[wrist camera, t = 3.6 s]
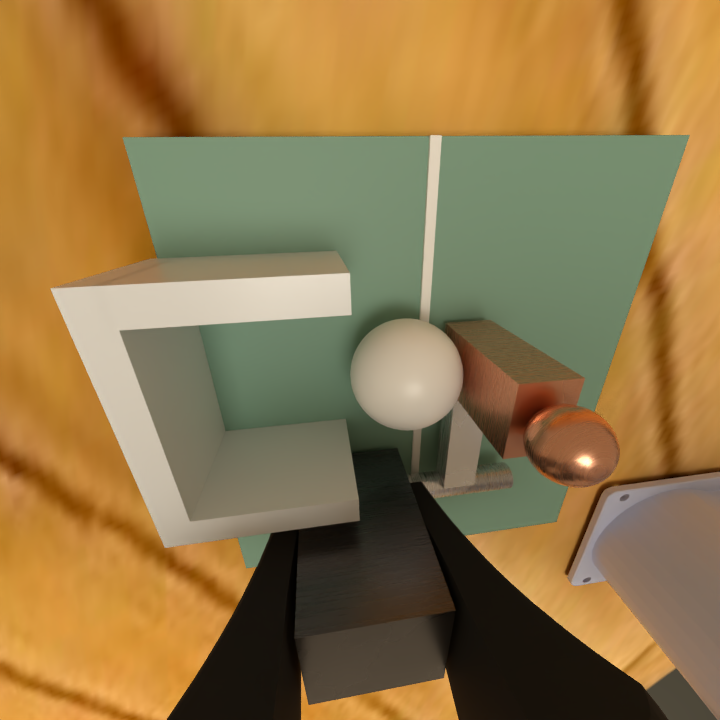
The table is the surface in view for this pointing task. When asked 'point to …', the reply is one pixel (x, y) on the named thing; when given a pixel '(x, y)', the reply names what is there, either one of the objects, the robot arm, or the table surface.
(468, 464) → the knob lever
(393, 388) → the ball
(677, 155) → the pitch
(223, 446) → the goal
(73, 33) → the table surface
